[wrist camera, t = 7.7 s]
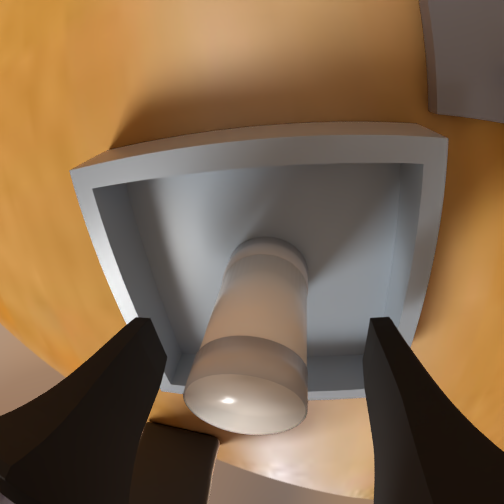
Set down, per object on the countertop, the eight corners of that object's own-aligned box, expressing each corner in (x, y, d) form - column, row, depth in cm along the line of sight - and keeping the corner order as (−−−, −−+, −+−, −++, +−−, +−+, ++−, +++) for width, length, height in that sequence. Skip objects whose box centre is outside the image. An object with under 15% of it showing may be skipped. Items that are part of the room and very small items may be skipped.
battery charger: (152, 434, 25) (119, 534, 16) (143, 417, 23) (104, 528, 14) (222, 450, 25) (199, 557, 15) (222, 435, 23) (195, 556, 13)
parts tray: (416, 123, 9) (448, 138, 7) (385, 355, 16) (393, 394, 13) (108, 150, 11) (69, 170, 9) (175, 355, 18) (161, 391, 15)
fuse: (310, 238, 12) (314, 377, 6) (305, 304, 14) (301, 438, 8) (224, 235, 12) (171, 364, 7) (230, 300, 14) (194, 427, 9)
